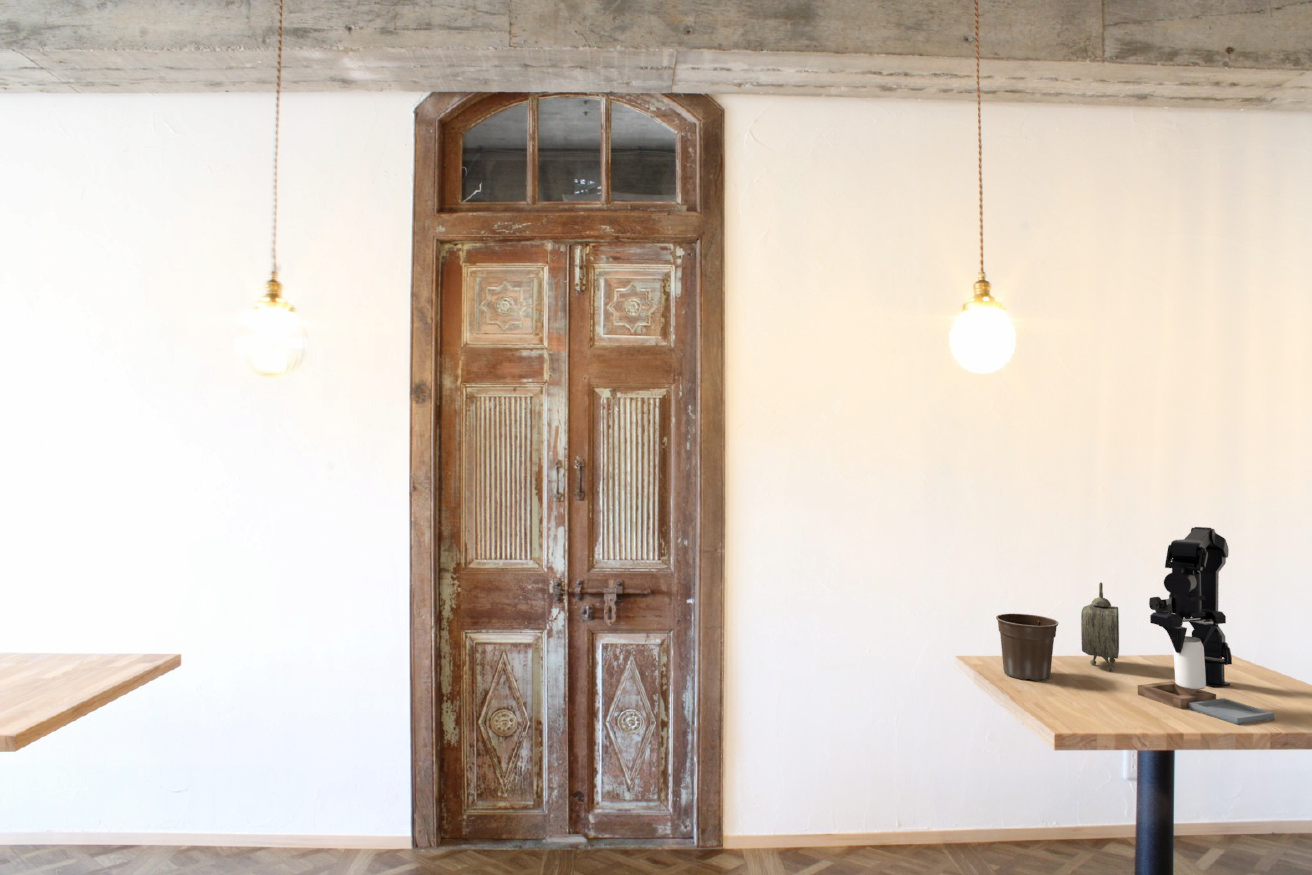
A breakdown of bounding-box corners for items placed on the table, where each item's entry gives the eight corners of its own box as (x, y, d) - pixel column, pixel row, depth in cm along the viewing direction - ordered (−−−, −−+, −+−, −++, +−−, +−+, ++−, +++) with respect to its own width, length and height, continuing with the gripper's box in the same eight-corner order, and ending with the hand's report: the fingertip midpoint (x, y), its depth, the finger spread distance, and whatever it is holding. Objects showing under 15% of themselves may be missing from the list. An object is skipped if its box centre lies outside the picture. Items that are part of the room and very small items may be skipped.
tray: (1223, 703, 196) (1223, 698, 196) (1274, 719, 185) (1273, 713, 185) (1188, 708, 193) (1188, 702, 193) (1237, 724, 181) (1237, 718, 181)
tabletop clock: (1117, 674, 223) (1115, 587, 223) (1081, 669, 228) (1080, 584, 228) (1119, 662, 235) (1118, 580, 236) (1085, 658, 240) (1084, 578, 241)
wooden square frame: (1172, 690, 207) (1171, 681, 208) (1216, 704, 196) (1216, 694, 196) (1137, 694, 204) (1137, 685, 204) (1180, 708, 192) (1180, 698, 192)
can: (1211, 690, 193) (1208, 642, 193) (1182, 689, 195) (1179, 642, 195) (1198, 681, 200) (1196, 635, 200) (1171, 681, 201) (1168, 635, 201)
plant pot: (1070, 677, 220) (1069, 620, 220) (1039, 687, 211) (1039, 627, 211) (1016, 664, 233) (1015, 611, 234) (985, 673, 224) (984, 617, 225)
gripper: (1186, 583, 208) (1187, 641, 208) (1131, 587, 203) (1132, 646, 202) (1226, 590, 197) (1227, 652, 197) (1170, 594, 192) (1171, 657, 192)
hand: (1188, 651), depth 197 cm, fingers closed on can, 6 cm apart
